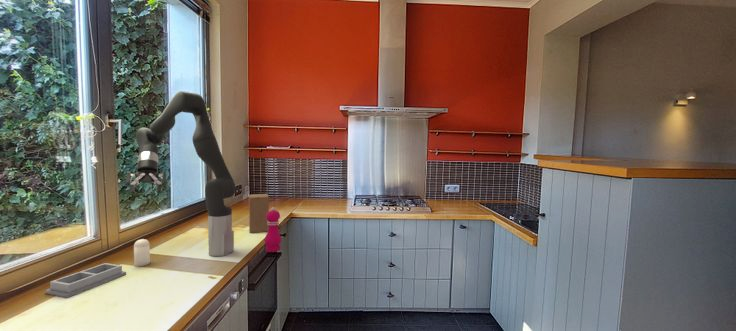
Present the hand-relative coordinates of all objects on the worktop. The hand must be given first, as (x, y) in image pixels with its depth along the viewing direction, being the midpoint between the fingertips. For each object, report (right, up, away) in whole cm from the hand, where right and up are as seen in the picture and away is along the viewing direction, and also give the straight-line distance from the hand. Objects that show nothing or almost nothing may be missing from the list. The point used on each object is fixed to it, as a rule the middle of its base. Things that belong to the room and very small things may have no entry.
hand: (145, 193), depth 121 cm
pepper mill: (+52, -27, +9) cm, 59 cm away
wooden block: (+34, -25, +39) cm, 57 cm away
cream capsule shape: (+6, -27, -10) cm, 29 cm away
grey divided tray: (+1, -28, -26) cm, 38 cm away
